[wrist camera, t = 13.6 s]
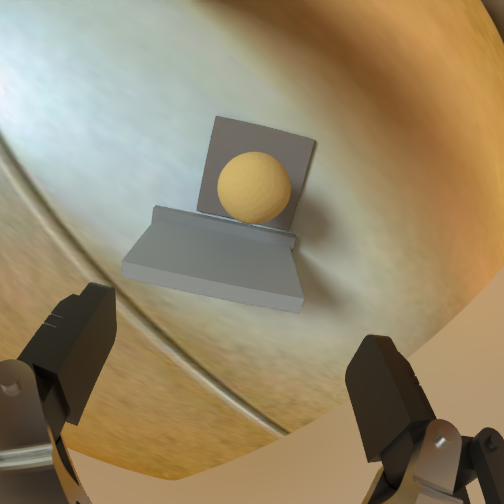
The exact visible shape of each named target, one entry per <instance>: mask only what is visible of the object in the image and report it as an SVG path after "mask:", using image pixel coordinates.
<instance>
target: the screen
mask: <svg viewBox="0 0 504 504" xmlns="http://www.w3.org/2000/svg"><path fill="white" fill-rule="evenodd" d="M295 241H296V236H295V235H293V234H288V233H284V232H280V231H275V230H271V229H266V228H262V227H257V226H253V225H248V224H243V223H239V222H234V221H229V220H225V219H220V218H215V217H211V216H206V215H201V214H196V213H191V212H186V211H181V210H177V209H172V208H167V207H162V206H155V207H154V208H153V214H152V223H151V225H150V226H149V227H148V229H147V230H146V231H145V232H144V234H143V235H142V236H141V237H140V238H139V240H138V241H137V242H136V243H135V245H134V246H133V247H132V249H131V250H130V251H129V252H128V254H127V255H126V256H125V257H124V259H123V260H122V271H121V277H124V278H128V279H132V280H136V281H140V282H145V283H149V284H153V285H157V286H162V287H166V288H171V289H175V290H180V291H184V292H189V293H194V294H198V295H203V296H208V297H213V298H218V299H223V300H228V301H233V302H238V303H243V304H249V305H254V306H259V307H265V308H271V309H276V310H282V311H288V312H294V313H299V312H300V310H301V307H302V305H303V302H304V300H305V298H304V294H303V291H302V287H301V284H300V280H299V277H298V274H297V270H296V267H295V263H294V260H293V257H292V251H293V247H294V244H295Z"/></svg>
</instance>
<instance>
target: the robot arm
mask: <svg viewBox="0 0 504 504" xmlns="http://www.w3.org/2000/svg"><path fill="white" fill-rule="evenodd" d="M116 330H117V323H116V298H115V289H114V288H113V287H109V286H105V285H101V284H97V283H93V282H90V283H89V284H88V285H87V286H86V288H85V289H84V290H83V292H82V293H81V294H80V295H79V296H78V295H75V294H72V295H70V296H69V297H67V298H65V299H64V300H62V301H60V302H59V303H58V305H57V306H56V307H55V308H54V310H53V311H52V312H51V315H49V316H48V317H47V319H46V320H45V321H44V324H42V325H41V326H40V328H39V329H38V330H37V332H36V333H35V335H34V336H33V337H32V339H31V340H30V341H29V343H28V344H27V346H26V347H25V348H24V350H23V351H22V353H21V354H20V356H19V357H18V358H17V359H16V360H14V359H9V360H4V361H1V362H0V504H92V502H91V501H90V499H89V497H88V496H87V494H86V492H85V490H84V489H83V487H82V485H81V482H80V480H79V477H78V476H77V473H76V470H75V468H74V465H73V463H72V460H71V458H70V455H69V452H68V450H67V447H66V444H65V441H64V438H63V435H62V433H61V431H62V428H63V426H64V424H65V421H66V422H68V423H71V424H74V425H76V426H77V425H78V423H79V420H80V418H81V416H82V413H83V411H84V408H85V406H86V404H87V401H88V399H89V397H90V394H91V392H92V390H93V387H94V385H95V383H96V381H97V378H98V376H99V374H100V372H101V370H102V367H103V365H104V363H105V361H106V359H107V357H108V355H109V353H110V350H111V348H112V346H113V344H114V341H115V337H116ZM345 383H346V387H347V390H348V393H349V397H350V400H351V403H352V407H353V410H354V414H355V417H356V421H357V424H358V428H359V431H360V435H361V439H362V442H363V446H364V450H365V453H366V457H367V461H368V463H370V462H378V461H382V464H383V466H382V467H381V468H380V469H379V470H378V472H377V474H376V476H375V478H374V480H373V482H372V484H371V486H370V488H369V490H368V492H367V494H366V496H365V498H364V500H363V502H362V504H470V500H469V497H468V494H467V490H466V487H465V486H466V485H468V484H469V483H471V482H472V481H473V480H475V479H476V478H477V477H478V480H479V483H480V486H481V489H482V493H483V496H484V499H485V502H486V504H504V439H503V438H502V436H501V435H500V434H499V432H497V431H496V430H495V429H493V428H489V427H487V428H484V429H482V430H481V431H480V432H479V433H478V434H477V435H476V436H475V437H468V436H461V435H460V433H459V432H458V430H457V428H456V427H455V426H454V425H453V424H451V423H450V422H448V421H446V420H443V419H437V418H436V416H435V414H434V412H433V410H432V408H431V406H430V404H429V401H428V399H427V397H426V395H425V393H424V391H423V389H422V387H421V386H419V381H418V379H417V377H416V376H415V373H414V371H413V369H412V367H411V365H410V363H409V362H408V361H407V360H406V359H405V358H404V357H403V356H402V355H401V353H400V352H398V351H397V349H396V347H395V345H394V343H393V341H392V339H391V338H390V337H388V336H380V335H367V336H366V337H365V338H364V339H363V341H362V343H361V345H360V346H359V348H358V350H357V352H356V353H355V355H354V357H353V358H352V360H351V362H350V363H349V365H348V367H347V370H346V374H345Z"/></svg>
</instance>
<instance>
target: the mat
mask: <svg viewBox="0 0 504 504" xmlns="http://www.w3.org/2000/svg"><path fill="white" fill-rule="evenodd" d="M314 142H315V140H313V139H310V138H307V137H303V136H299V135H296V134H292V133H288V132H285V131H281V130H277V129H273V128H269V127H265V126H261V125H256V124H252V123H248V122H243V121H238V120H234V119H229V118H224V117H219V116H216V118H215V122H214V126H213V131H212V135H211V140H210V144H209V149H208V154H207V159H206V163H205V168H204V173H203V178H202V183H201V188H200V194H199V199H198V204H197V210H196V211H201V212H206V213H211V214H215V215H220V216H225V217H229V218H233V217H232V216H231V215H230V214H229V213H228V212H227V211H226V210H225V209H224V207H223V206H222V204H221V202H220V199H219V196H218V187H217V185H218V180H219V176H220V174H221V172H222V170H223V168H224V167H225V166H226V164H227V163H228V162H229V161H231V160H232V159H233V158H235V157H236V156H238V155H241V154H243V153H247V152H261V153H265V154H268V155H270V156H272V157H274V158H275V159H277V160H278V161H279V162H280V163H281V164H282V165H283V167H284V168H285V170H286V171H287V174H288V176H289V179H290V184H291V194H290V198H289V201H288V203H287V205H286V207H285V208H284V209H283V211H282V212H281V213H280V214H279V215H277V216H276V217H275V218H273V219H271V220H270V221H268V222H265V223H261V224H262V225H266V226H270V227H275V228H279V229H284V230H288V231H289V228H290V225H291V222H292V218H293V215H294V212H295V208H296V205H297V201H298V198H299V195H300V191H301V188H302V184H303V181H304V177H305V174H306V170H307V167H308V163H309V160H310V156H311V153H312V149H313V146H314ZM234 219H235V218H234Z"/></svg>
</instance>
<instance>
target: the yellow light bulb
mask: <svg viewBox="0 0 504 504" xmlns="http://www.w3.org/2000/svg"><path fill="white" fill-rule="evenodd" d="M217 187H218V196H219V199H220V202H221V204H222V206H223V207H224V209H225V210H226V211H227V212H228V213H229V214H230V215H231V216H232V217H233V218H235V219H236V220H238V221H240V222H243V223H246V224H261V223H265V222H268V221H270V220H271V219H273V218H275V217H276V216H277V215H279V214H280V213H281V212H282V211H283V209H284V208H285V207H286V205H287V203H288V201H289V198H290V194H291V184H290V179H289V176H288V174H287V171H286V170H285V168H284V167H283V165H282V164H281V163H280V162H279V161H278V160H277V159H275V158H274V157H272V156H270V155H268V154H265V153H261V152H247V153H243V154H241V155H238V156H236V157H235V158H233V159H232V160H231V161H229V162H228V163H227V164H226V166H225V167H224V168H223V170H222V172H221V174H220V176H219V180H218V185H217Z"/></svg>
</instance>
